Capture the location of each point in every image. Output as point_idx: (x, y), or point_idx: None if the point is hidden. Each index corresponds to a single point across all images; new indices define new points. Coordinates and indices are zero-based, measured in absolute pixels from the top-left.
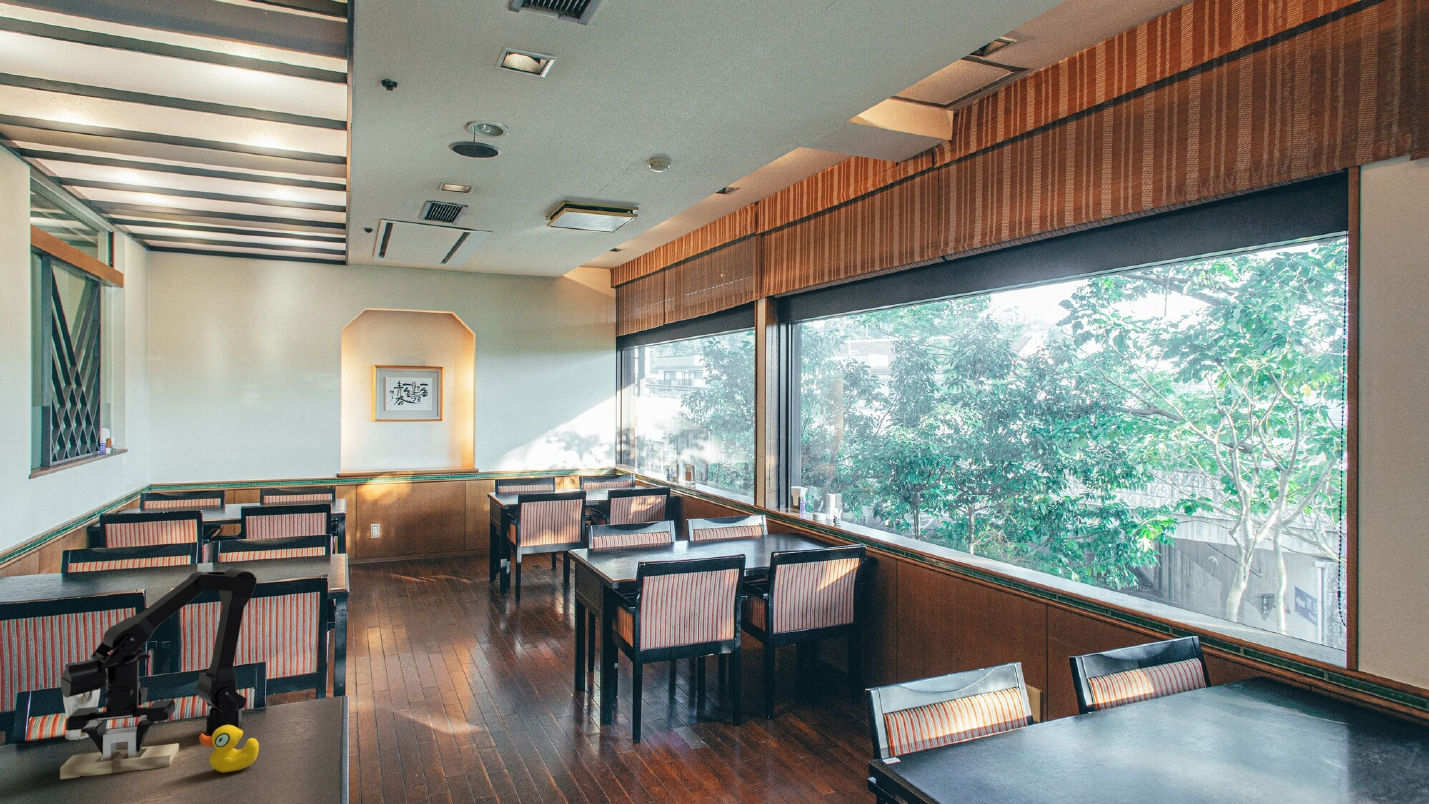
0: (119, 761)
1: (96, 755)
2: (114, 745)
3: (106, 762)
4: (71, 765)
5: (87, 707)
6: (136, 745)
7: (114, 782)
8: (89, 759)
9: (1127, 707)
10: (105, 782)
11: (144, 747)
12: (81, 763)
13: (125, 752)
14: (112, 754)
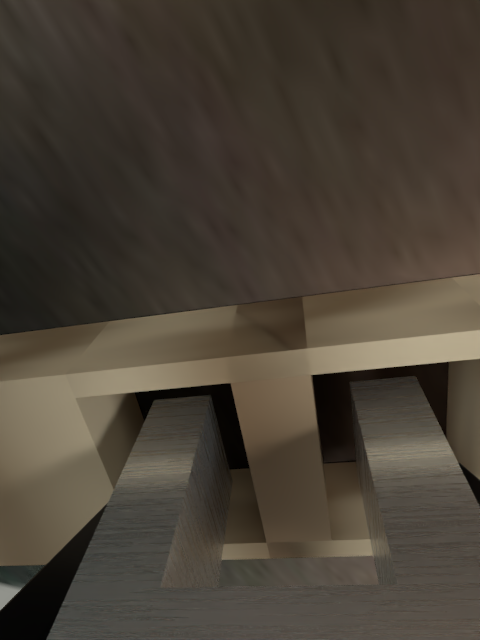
0: (324, 552)
1: (54, 440)
2: (190, 529)
3: (233, 559)
4: (4, 556)
5: None
6: None
7: (352, 576)
8: (57, 498)
9: None
10: (298, 567)
11: (453, 343)
12: (50, 542)
13: (292, 424)
14: (215, 501)
